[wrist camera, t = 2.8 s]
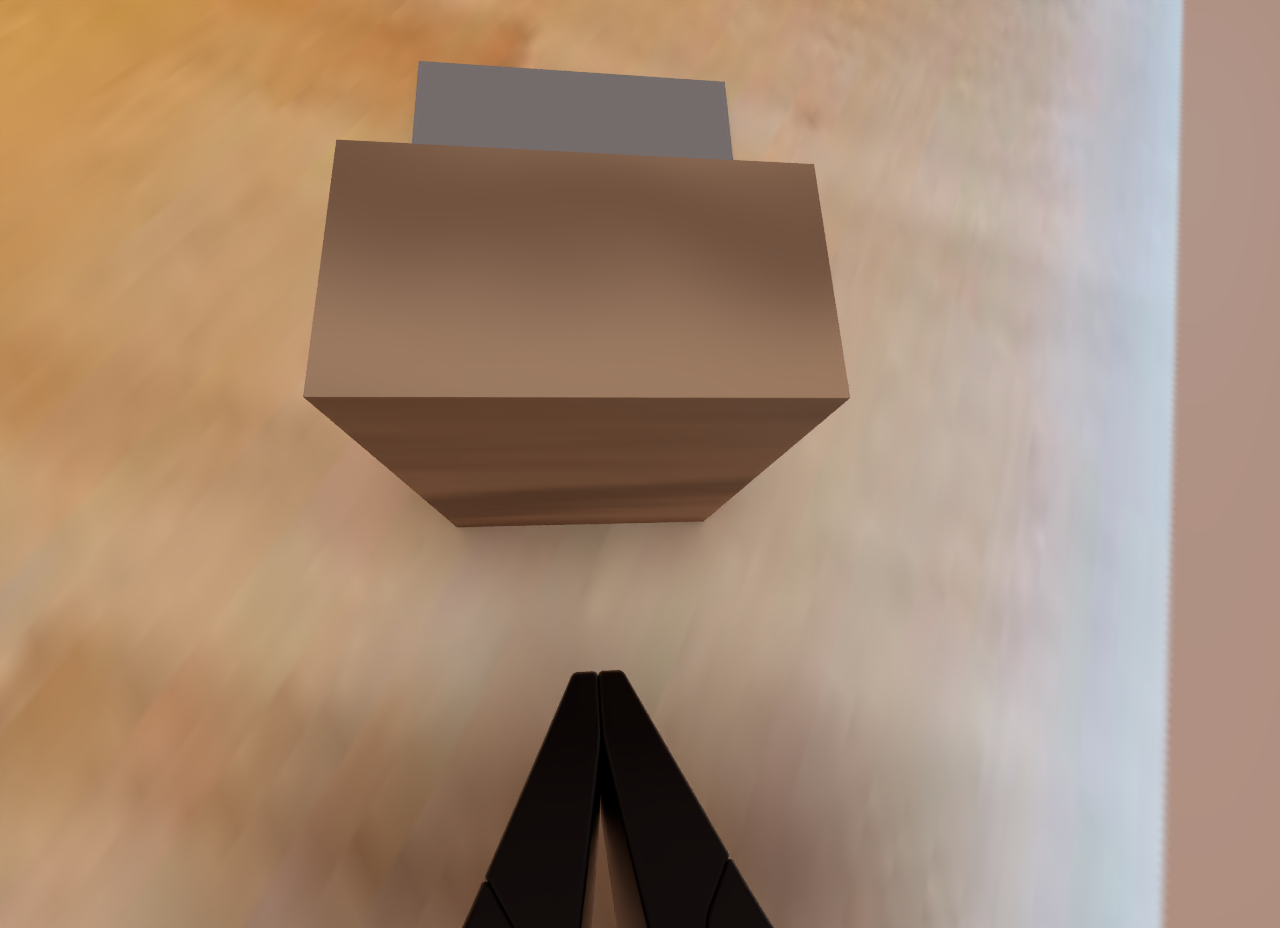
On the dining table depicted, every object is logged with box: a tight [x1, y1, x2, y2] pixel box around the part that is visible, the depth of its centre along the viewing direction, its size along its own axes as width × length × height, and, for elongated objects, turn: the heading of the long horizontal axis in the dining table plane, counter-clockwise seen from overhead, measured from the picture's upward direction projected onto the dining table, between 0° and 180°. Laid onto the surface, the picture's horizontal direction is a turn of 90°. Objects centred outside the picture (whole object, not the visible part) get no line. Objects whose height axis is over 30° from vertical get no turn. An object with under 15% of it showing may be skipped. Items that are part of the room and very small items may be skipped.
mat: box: [412, 61, 733, 160], centre depth 24 cm, size 15×14×2 cm
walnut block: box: [303, 140, 850, 527], centre depth 16 cm, size 5×9×12 cm, turn 93°
